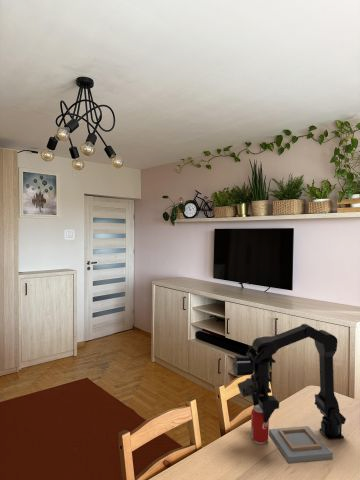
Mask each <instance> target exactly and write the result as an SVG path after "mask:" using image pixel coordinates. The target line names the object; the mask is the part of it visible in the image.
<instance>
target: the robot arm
mask: <svg viewBox="0 0 360 480" xmlns="http://www.w3.org/2000/svg"><path fill="white" fill-rule="evenodd" d="M307 338H310V339H312V340H314V346H315V349H316V350H317V352H318V358H319V361H318V362H319V387H320V388H319V389H320V390H319V392H318V393H317V394H316V393H315V394H314V399H315V400H314V405H315V406H316V408H317V409H318V410H319V413H320V414H322V415H323V416H322V418H321V419H322V420H320V428H319V431H320V432H321V433H322V435H324V437H325V438H326V439H327V440H328V441H329V440H340V439H345V436H344V435H343V434H342V432H343V431H342V428H343V425H345V423H346V420H347V418H345V416H344V415H343V414H342V413H341V412H340V406H339V401H338V399H337V397H336V395H335V381H334V375H335V374H334V356H335V354H336V352H337V350H338V342H339V341H338V337H336V336H335V335H334V334H332V333H330V332H328V331H326V330H324V329H319V330H318V329H316V328H314V327H313V326H310V325H309V324H307V323H303V324H300V325H299V326H297V327H294V328H291V329H289V330H286V331H283V332H281V333H278V334H276V335H273V336H269V335H268V336H266V335H265V336H260V337H256V338H254V339H253V342H252V345H251V347H250V348H249V349H248V350H247V352H246V353H245V354H246V355H234V359H233V360H232V361H233V362H232V372H233V374H234V376H236V377H237V376H250V377H248V378H246V379H245V380H243V381H240V382H238V383H237V388H238V391H239V393H240V394H241V395H242V397H243V398H245V397H249V396H250V397H251V400H252V406H253V407H254V406H255V405H259V406H260V408H261V409H262V412H263V420H264V423H267V421H268V420H269V421H270V418H271V417H272V415H273V414H274V412H275V410H277V409H280V401H279V400H278V399H277V398H276V397H275V396H274V395H269V394H272V389H271V388H270V383H271V382H272V378H271V377H270V369H271V368H270V366H271V365H270V364H273V363H276V360H275V359H274V358H273V356H274V355H276V353H277V352H278V351H279V350H280V349H282V348H284V347H287V346H290V345H293V344H294V343H297V342H300V341H302V340H305V339H307Z"/></svg>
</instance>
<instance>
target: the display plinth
mask: <svg viewBox="0 0 360 480" xmlns="http://www.w3.org/2000/svg"><path fill="white" fill-rule="evenodd" d="M268 436H270V438H271V439H272V441H273V442H274V444H275V446H276V447H277V448H278V450H279V452H280V453H281V454H282V456H283V457H284V458H285V460H286V462H287V463H288V464H291V463H301V462H303V463H304V462H312V461H313V462H314V461H323V460H333V452H332V451H331V449H329V448H328V446H327V445H326V444H325V443H324V442H323V441H322V440H321V439H320V437H319V436H318V435H317V434H316V433H315V431H313V430H312V429H311V428H310V426H308V425H307V426H291V427H278V428H269V434H268Z"/></svg>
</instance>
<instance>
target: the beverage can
mask: <svg viewBox="0 0 360 480" xmlns="http://www.w3.org/2000/svg"><path fill="white" fill-rule="evenodd" d="M250 413H251V418H250V420H251V422H250V423H251V425H250V438H251V439H252V442H254V443H256V444H258V445H264V444H266V443H267V442H268V441H269V429H270V428H269V427H270V419H269V420H268V421H267V423H264V420H263V412H262V409H261V408H260V406H259V405H255V406H254V405H253V408H252V409H251V412H250Z"/></svg>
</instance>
